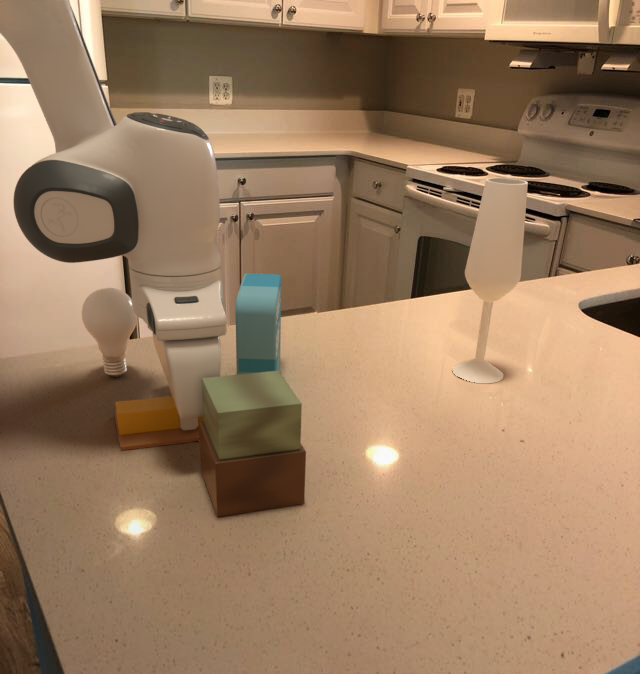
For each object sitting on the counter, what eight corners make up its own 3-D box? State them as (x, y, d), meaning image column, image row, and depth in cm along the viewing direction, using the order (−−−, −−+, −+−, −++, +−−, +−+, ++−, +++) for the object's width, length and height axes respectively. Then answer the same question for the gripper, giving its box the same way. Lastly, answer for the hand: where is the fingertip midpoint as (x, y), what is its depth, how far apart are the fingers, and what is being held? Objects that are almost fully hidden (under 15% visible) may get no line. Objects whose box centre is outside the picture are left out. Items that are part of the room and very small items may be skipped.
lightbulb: (102, 390, 84) (92, 300, 78) (80, 372, 88) (69, 286, 83) (151, 378, 87) (144, 291, 82) (128, 361, 91) (120, 278, 86)
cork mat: (120, 450, 71) (120, 447, 71) (114, 415, 78) (114, 412, 78) (256, 433, 76) (256, 430, 75) (239, 402, 82) (239, 399, 82)
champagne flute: (441, 371, 93) (465, 179, 81) (471, 359, 97) (498, 174, 86) (484, 388, 88) (516, 187, 77) (513, 374, 93) (548, 182, 81)
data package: (275, 399, 83) (276, 300, 78) (236, 398, 83) (234, 299, 77) (280, 360, 94) (281, 271, 88) (246, 359, 94) (245, 269, 88)
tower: (217, 517, 62) (213, 415, 57) (200, 471, 68) (196, 376, 64) (304, 503, 64) (307, 404, 60) (280, 460, 71) (281, 368, 66)
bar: (119, 435, 73) (117, 414, 72) (117, 422, 76) (115, 401, 75) (251, 420, 77) (251, 399, 76) (245, 408, 80) (245, 388, 79)
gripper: (134, 267, 78) (144, 382, 84) (158, 330, 61) (168, 468, 67) (191, 264, 80) (197, 377, 86) (230, 324, 63) (234, 459, 69)
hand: (185, 417), depth 76 cm, fingers closed on bar, 3 cm apart
